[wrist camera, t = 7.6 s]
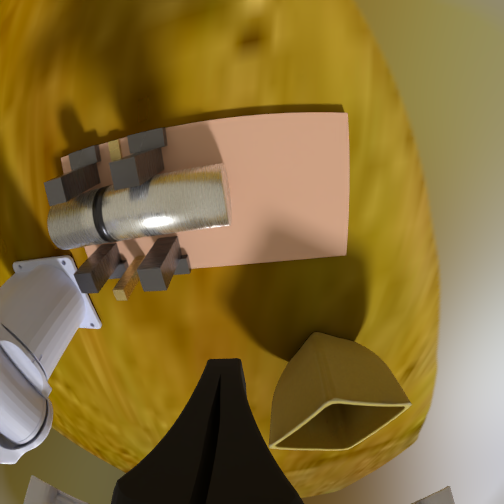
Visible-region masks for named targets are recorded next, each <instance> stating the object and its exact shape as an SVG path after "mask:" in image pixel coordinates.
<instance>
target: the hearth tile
mask: <svg viewBox="0 0 504 504" xmlns="http://www.w3.org/2000/svg"><path fill="white" fill-rule="evenodd" d="M165 130H166V137H167V144H168V146H165V147H161V150H162V156H163V162H164V168H165V169H164V170H163V171H161V172H160V173H158V174H162V173H167V172H173V171H178V170H183V169H189V168H195V167H201V166H207V165H213V164H220V163H223V164H224V166H225V169H226V173H227V178H228V183H229V190H230V198H231V209H232V223H231V226H224V227H216V228H208V229H200V230H193V231H185V232H178V233H170V234H163V235H156V236H149V237H142V238H135V239H129V240H122V241H118V242H111V243H103V244H97V245H91V246H85V250H86V253H87V256H88V258H89V257H90V256H91V255H92V254H93V253H94V252H95V250H96V249H97V248H98V247H99V246H100V245H104V244H112V243H117V246H118V249H119V252H120V256H121V259H122V260H127V262H128V265H129V266H130V264H131V263H132V261H133V260H134V259H135V257H136V256H144V255H147V253H148V252H149V250H150V249H151V247H152V246H153V245H154V243H155V242H156V240H157V239H158V238H163V237H173V236H178V239H179V244H180V248H181V253H182V255H188V256H189V261H190V265H191V269H192V268H204V267H217V266H229V265H242V264H254V263H265V262H277V261H288V260H299V259H311V258H321V257H332V256H343V255H346V251H347V236H348V216H349V130H348V113H333V112H305V113H278V114H262V115H250V116H240V117H231V118H223V119H215V120H208V121H201V122H195V123H189V124H184V125H178V126H173V127H168V128H165ZM119 140H120V146H121V152H122V158H123V157H125V156H128V155H131V154H130V151H129V145H128V138H127V137H125V138H121V139H119ZM99 150H100V156H101V161H100V162H97V168H98V173H99V178H100V182H101V183H99V184H97V185H95V186H93V187H92V188H90V189H88V190H86V191H84V192H87V191H91V190H95V189H98V188H101V187H105V186H108V185H113V181H112V176H111V171H110V166H109V163H110V162H111V157H110V151H109V146H108V142H107V143H104V144H100V145H99ZM132 154H133V153H132ZM61 162H62V167H63V172H64V174H65V173H67V172H70V171H72V170H71V166H70V161H69V155H67V156H65V157H62V158H61ZM84 192H83V193H84Z"/></svg>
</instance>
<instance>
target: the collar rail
mask: <svg viewBox="0 0 504 504" xmlns="http://www.w3.org/2000/svg"><path fill="white" fill-rule="evenodd" d="M127 138H128V145H129V151H130V154H131V155H128V156H125V157H123V158H122V152H121V146H120V140H119V139H117V140H114V141H110V142H108V146H109V151H110V157H111V162H110V163H109V166H110V171H111V176H112V181H113V185H114V190H115V191H116V190H120V189H125V188H130V187H136V186H140V185H142V184H143V183H145V182H146V181H148V180H149V179H151V178H152V177H154V176H155V175H157V174H158V173H160V172H161V171H163V170H164V169H165V168H164V162H163V156H162V150H161V147H165V146H168V144H167V137H166V130H165V127H163V128H158V129H154V130H149V131H145V132H141V133H137V134H133V135H129V136H127ZM132 153H133V154H132ZM68 155H69V161H70V166H71V170H72V171H70V172H67V173H65V174H63V175H60V176H58V177H56V178H53V179H51V180H49V181H47V182H45V183H44V185H45V190H46V194H47V197H48V201H49V205H50V206H53V205H57V204H61V203H64V202H67V201H69V200H71V199H72V198H74V197H76V196H77V195H79V194H81V193H83V192H84V191H86V190H88V189H90V188H92V187H93V186H95V185H97V184H99V183H101V182H100V178H99V173H98V168H97V162H100V161H101V156H100V150H99V144H98V145H94V146H91V147H88V148H85V149H82V150H79V151H76V152H73V153H71V154H68ZM190 272H191V265H190V261H189V256H188V255H182V253H181V248H180V244H179V239H178V236H173V237H163V238H158V239H157V240H156V242H155V243H154V245H153V246H152V247H151V249H150V250H149V252H148V253H147V255H144V256H136V257H135V259H134V260H133V261H132V263H131V264H130V266H129V265H128V262H127V260H122V259H121V256H120V252H119V249H118V246H117V243H112V244H104V245H100V246H99V247H98V248H97V249H96V250H95V252H94V253H93V254H92V255H91V256H90V257H89V258H88V259H87V260H86V261H85V262H84V263H83V264H82V265H81V266H80V268H79V269H78V270H77V271H76V272H75V273H74V274H73V275H74V277H75V279H76V282H77V284H78V286H79V289H80V291H81V293H98V292H99V291H100V290H101V288H102V287H103V285H104V284H105V283H106V281H107V280H108V279H114V278H120V280H119V281H118V283H117V284H116V286H115V287H114V289H113V292H114V294H115V297H116V299H117V300H128V298H129V296H130V295H131V293H132V291H133V290H134V288H135V286H136V284H137V283H138V281H139V279H140V281H141V284H142V287H143V290H144V291H161V290H167V288H168V286H169V284H170V281H171V279H172V277H173V275H176V274H190Z"/></svg>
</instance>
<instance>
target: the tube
mask: <svg viewBox="0 0 504 504" xmlns="http://www.w3.org/2000/svg"><path fill="white" fill-rule="evenodd" d="M231 223H232V209H231V198H230V190H229V183H228V178H227V173H226V169H225V166H224V164H223V163H220V164H213V165H207V166H201V167H195V168H189V169H183V170H178V171H173V172H167V173H162V174H157V175H155V176H154V177H152V178H151V179H149V180H148V181H146V182H145V183H143V184H142V185H140V186H136V187H130V188H125V189H120V190H116V191H115V190H114V185H108V186H105V187H101V188H98V189H95V190H91V191H87V192H84V193H81V194H79V195H77V196H76V197H74V198H72V199H71V200H69V201H67V202H64V203H61V204H57V205H53V206H51V208H50V210H49V214H48V230H49V234H50V237H51V239H52V241H53V242H54V244H55V245H56V246H57V247H58V248H60V249H63V250H67V249H73V248H79V247H85V246H91V245H97V244H103V243H111V242H118V241H122V240H129V239H135V238H142V237H149V236H156V235H163V234H170V233H178V232H185V231H193V230H200V229H208V228H216V227H224V226H231Z"/></svg>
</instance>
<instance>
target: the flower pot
mask: <svg viewBox="0 0 504 504" xmlns="http://www.w3.org/2000/svg"><path fill="white" fill-rule="evenodd" d="M410 406H411V402H410V401H409V399H408V397H407V396H406V394H405V393H404V391H403V389H402V388H401V386H400V384H399V383H398V381H397V380H396V378H395V377H394V375H393V374H392V372H391V371H390V369H389V368H388V366H387V365H386V364H385V363H384V362H383V361H382V360H381V359H380V358H379V357H378V356H377V355H376V354H375V353H373V352H372V351H370V350H369V349H367V348H366V347H364V346H362V345H360V344H358V343H356V342H354V341H351V340H347V339H343V338H338V337H335V336H331V335H327V334H324V333H320V332H314V333H313V334H311V335H310V337H309V338H308V339H307V341H306V342H305V343H304V344H303V346H302V347H301V348H300V349H299V351H298V352H297V353H296V354H295V355H294V357H293V358H292V359H291V360H290V361H289V363H288V364H287V366H286V368H285V370H284V371H283V373H282V375H281V377H280V379H279V381H278V384H277V386H276V389H275V392H274V396H273V401H272V411H271V424H270V438H269V448H274V449H288V450H327V451H330V450H347V449H350V448H352V447H354V446H355V445H357V444H358V443H360V442H362V441H363V440H365V439H366V438H368V437H369V436H371V435H372V434H374V433H375V432H377V431H378V430H380V429H381V428H382V427H384V426H385V425H387V424H388V423H389V422H391V421H392V420H394V419H395V418H396V417H398V416H399V415H400V414H401V413H403V412H404V411H405V410H407V409H408V408H409V407H410Z"/></svg>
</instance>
